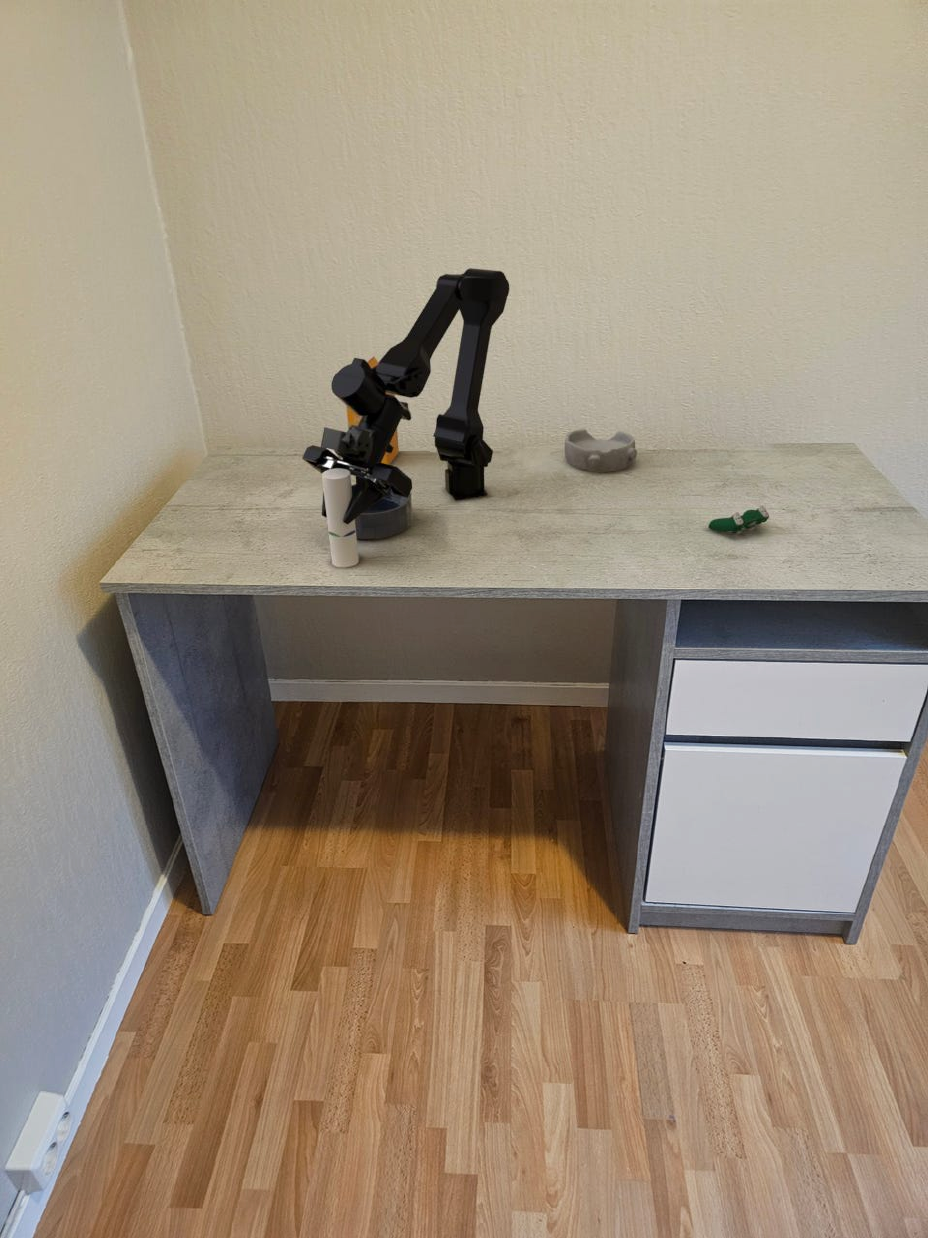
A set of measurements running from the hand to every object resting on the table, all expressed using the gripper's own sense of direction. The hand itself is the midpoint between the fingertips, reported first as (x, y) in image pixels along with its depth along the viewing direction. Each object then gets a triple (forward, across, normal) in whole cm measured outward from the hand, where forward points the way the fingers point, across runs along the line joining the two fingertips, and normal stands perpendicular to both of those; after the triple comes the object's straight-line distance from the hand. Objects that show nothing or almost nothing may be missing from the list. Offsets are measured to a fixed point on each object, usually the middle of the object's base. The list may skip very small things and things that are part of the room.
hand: (334, 519), depth 130 cm
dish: (-38, +14, +50) cm, 64 cm away
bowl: (-5, -6, +16) cm, 18 cm away
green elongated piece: (-27, +48, +39) cm, 68 cm away
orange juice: (-22, -26, +33) cm, 48 cm away
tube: (+5, 0, +7) cm, 8 cm away
